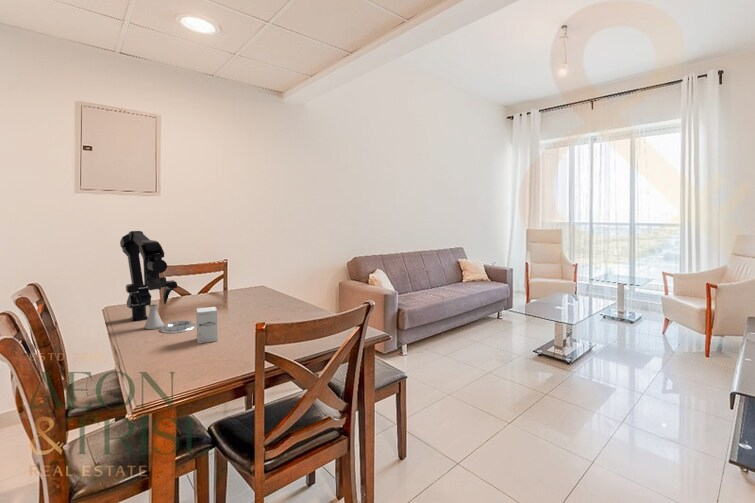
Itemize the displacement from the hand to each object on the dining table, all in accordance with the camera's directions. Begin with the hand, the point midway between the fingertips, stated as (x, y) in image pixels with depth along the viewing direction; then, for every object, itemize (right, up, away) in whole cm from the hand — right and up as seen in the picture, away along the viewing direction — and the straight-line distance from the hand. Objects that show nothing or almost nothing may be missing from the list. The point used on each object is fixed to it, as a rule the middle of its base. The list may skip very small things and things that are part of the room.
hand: (153, 305), depth 164 cm
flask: (0, -10, +1) cm, 10 cm away
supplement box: (+31, -12, -15) cm, 36 cm away
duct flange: (+11, -10, 0) cm, 15 cm away
